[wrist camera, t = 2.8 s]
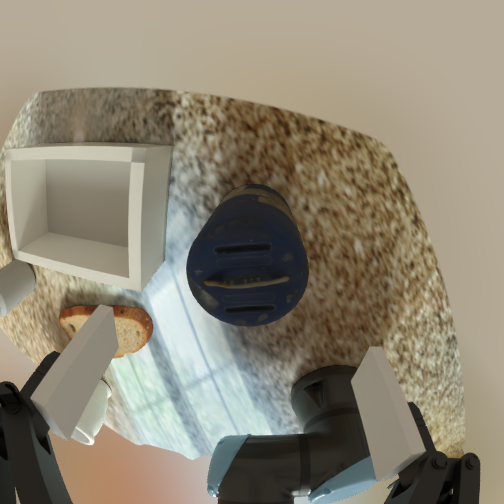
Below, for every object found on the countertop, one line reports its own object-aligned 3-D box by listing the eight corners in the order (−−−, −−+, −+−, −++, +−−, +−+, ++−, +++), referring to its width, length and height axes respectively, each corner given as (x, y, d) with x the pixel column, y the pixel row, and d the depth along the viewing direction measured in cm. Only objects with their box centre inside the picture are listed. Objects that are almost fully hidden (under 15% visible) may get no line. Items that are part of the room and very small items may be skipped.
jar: (79, 387, 53) (55, 429, 39) (75, 362, 49) (45, 408, 35) (116, 404, 54) (96, 451, 40) (115, 381, 50) (90, 433, 36)
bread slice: (161, 318, 43) (154, 332, 39) (131, 372, 49) (125, 385, 46) (74, 261, 40) (62, 271, 36) (60, 326, 46) (51, 336, 42)
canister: (282, 258, 38) (296, 348, 21) (213, 247, 37) (177, 330, 21) (297, 188, 34) (330, 235, 17) (222, 176, 34) (183, 211, 17)
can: (27, 252, 39) (-14, 281, 28) (43, 287, 42) (6, 321, 31) (10, 260, 40) (-27, 287, 29) (25, 292, 43) (-9, 322, 32)
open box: (173, 145, 32) (146, 148, 24) (164, 260, 38) (141, 292, 30) (44, 143, 32) (5, 149, 23) (47, 237, 38) (13, 258, 29)
